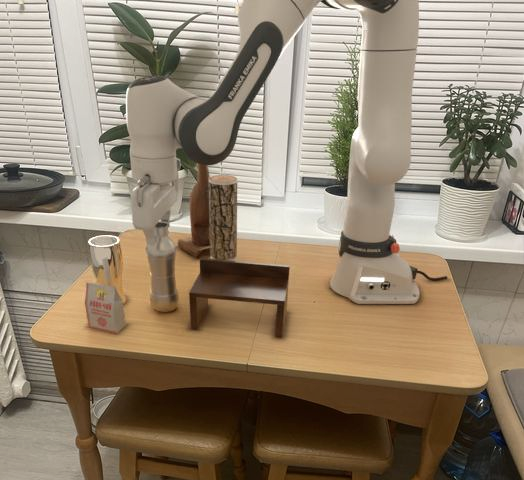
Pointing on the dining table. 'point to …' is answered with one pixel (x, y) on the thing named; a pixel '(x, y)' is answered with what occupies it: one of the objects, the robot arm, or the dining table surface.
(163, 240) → the silver metal bottle
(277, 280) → the bench
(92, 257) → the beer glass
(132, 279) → the dining table surface
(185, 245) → the bird sculpture
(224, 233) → the wooden log
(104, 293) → the paper bag
